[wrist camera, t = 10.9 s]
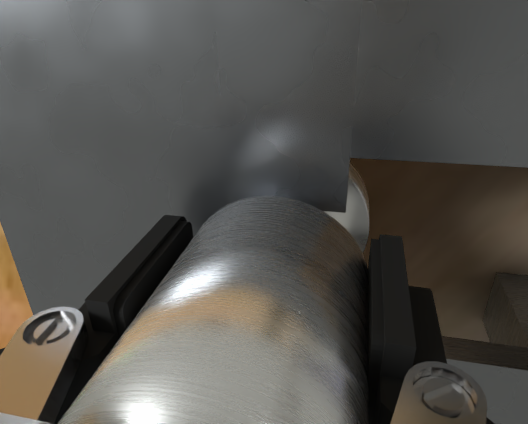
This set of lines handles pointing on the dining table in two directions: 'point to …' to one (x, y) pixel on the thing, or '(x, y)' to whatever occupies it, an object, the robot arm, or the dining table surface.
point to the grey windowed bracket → (249, 127)
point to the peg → (249, 324)
